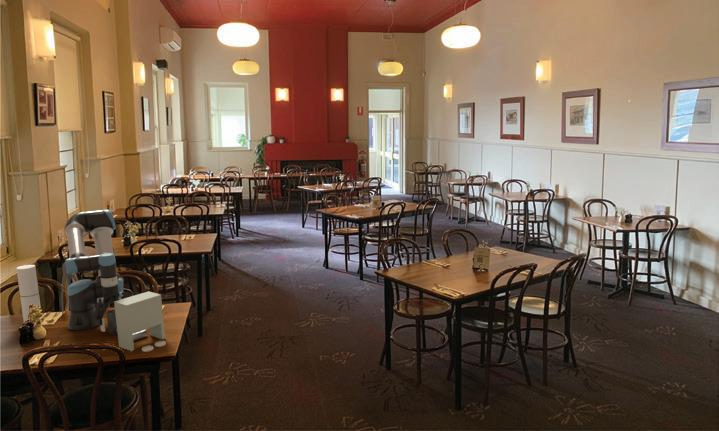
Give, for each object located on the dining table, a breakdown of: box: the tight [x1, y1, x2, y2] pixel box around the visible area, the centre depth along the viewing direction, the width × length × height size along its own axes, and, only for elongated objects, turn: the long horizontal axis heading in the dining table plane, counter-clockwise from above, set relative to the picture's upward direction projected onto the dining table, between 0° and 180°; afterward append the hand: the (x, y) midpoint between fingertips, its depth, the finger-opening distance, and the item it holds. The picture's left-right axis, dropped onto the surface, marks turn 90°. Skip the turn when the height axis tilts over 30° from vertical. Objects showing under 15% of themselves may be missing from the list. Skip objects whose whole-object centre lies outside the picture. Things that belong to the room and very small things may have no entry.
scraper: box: [105, 309, 148, 342], centre depth 285 cm, size 20×13×11 cm, turn 53°
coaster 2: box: [154, 340, 167, 348], centre depth 273 cm, size 5×5×1 cm
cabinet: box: [113, 290, 166, 352], centre depth 274 cm, size 10×18×22 cm, turn 143°
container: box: [15, 264, 42, 323], centre depth 307 cm, size 9×9×30 cm
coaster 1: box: [141, 344, 154, 353], centre depth 268 cm, size 5×5×1 cm
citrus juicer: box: [60, 262, 78, 315], centre depth 315 cm, size 11×10×30 cm
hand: (114, 327), depth 290 cm, fingers open, 11 cm apart
